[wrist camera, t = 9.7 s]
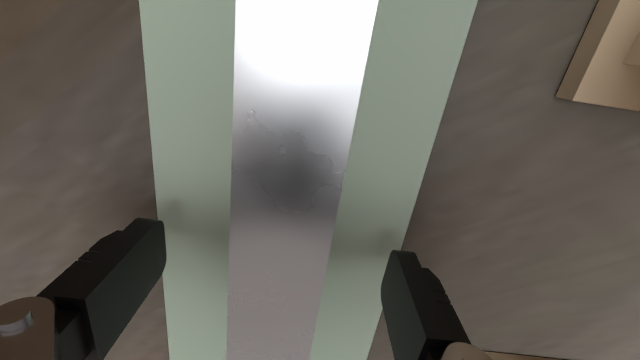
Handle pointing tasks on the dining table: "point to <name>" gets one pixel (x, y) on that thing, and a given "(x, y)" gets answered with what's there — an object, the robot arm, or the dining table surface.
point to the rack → (603, 72)
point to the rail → (289, 164)
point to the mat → (359, 180)
